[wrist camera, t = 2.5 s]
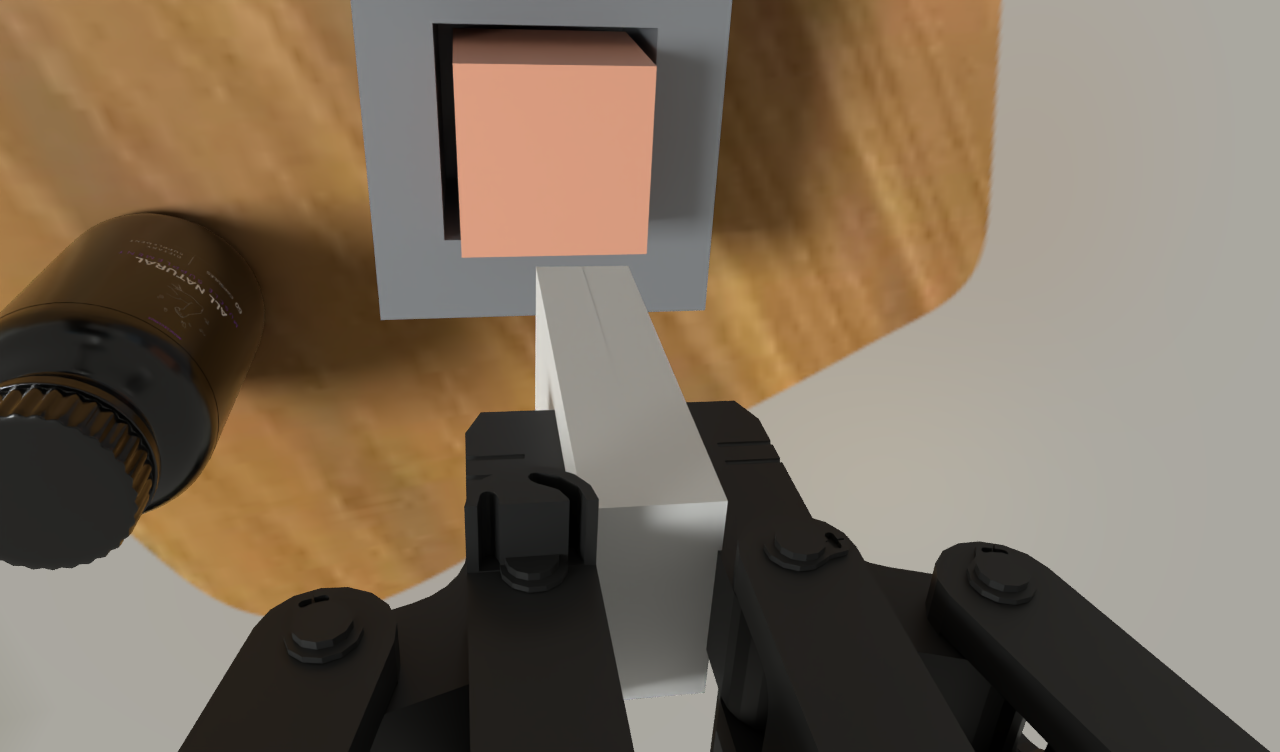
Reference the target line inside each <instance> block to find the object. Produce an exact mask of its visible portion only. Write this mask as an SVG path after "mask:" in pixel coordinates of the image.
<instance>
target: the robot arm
mask: <svg viewBox="0 0 1280 752" xmlns="http://www.w3.org/2000/svg"><path fill="white" fill-rule="evenodd" d="M465 440H466V503H465V506H464V511H465V537H466V561H465V564H464V566H463V567H462V569H461V571H460V573H459V574H458V576H457V577H456V578H455V579H453V580H452V581H451V582H450V583H449V585H448V586H446V587H445V588H443V589H441V590H440V591H438V592H437V593H435V594H434V595H432V596H430V597H427V598H425V599H422V600H420V601H417V602H415V603H412V604H409V605H406V606H402V607H399V608H396V609H393V610H391V608H390V606H389V605H388V604H387V603H386V602H384V601H383V600H381V599H380V598H378V597H377V596H375V595H374V594H373V593H370V592H366V591H362V590H358V589H353V588H349V587H341V588H320V589H317V590H313V591H310V592H306V593H303V594H299V595H296V596H293V597H291V598H290V599H288V600H286V601H284V602H283V603H281V604H279V605H278V606H276V607H274V608H272V609H271V610H270V611H269V612H268V613H267V614H266V615H265V616H264V617H263V618H262V619H261V620H260V621H259V623H258V624H257V625H256V626H255V627H254V628H253V630H252V632H251V633H250V635H249V636H248V638H247V640H246V641H245V643H244V645H243V646H242V648H241V649H240V651H239V653H238V654H237V656H236V658H235V659H234V661H233V662H232V664H231V666H230V667H229V669H228V671H227V672H226V674H225V676H224V677H223V679H222V681H221V682H220V684H219V685H218V687H217V689H216V690H215V692H214V694H213V695H212V697H211V699H210V700H209V702H208V703H207V705H206V707H205V708H204V710H203V712H202V713H201V715H200V717H199V718H198V720H197V721H196V723H195V725H194V726H193V728H192V730H191V731H190V733H189V735H188V736H187V738H186V739H185V741H184V743H183V744H182V746H181V748H180V749H179V751H178V752H634V748H633V743H632V738H631V733H630V729H629V724H628V719H627V714H626V709H625V704H624V700H630V699H641V698H651V697H662V696H674V695H684V694H694V693H695V694H696V693H704V692H705V686H706V677H707V669H708V661H709V660H710V663H711V667H712V669H713V673H714V676H715V679H716V682H717V685H718V696H717V703H716V711H715V719H714V727H713V734H712V742H711V749H710V752H1270V751H1269V750H1267V749H1266V748H1265V747H1264V746H1263V745H1261V744H1260V743H1259V742H1258V741H1256V740H1255V739H1254V738H1253V737H1252V736H1250V735H1249V734H1248V733H1247V732H1246V731H1244V730H1243V729H1242V728H1241V727H1240V726H1238V725H1237V724H1236V723H1235V722H1234V721H1232V720H1231V719H1230V718H1229V717H1228V716H1226V715H1225V714H1224V713H1223V712H1221V711H1220V710H1219V709H1218V708H1217V707H1215V706H1214V705H1213V704H1212V703H1211V702H1209V701H1208V700H1207V699H1206V698H1205V697H1203V696H1202V695H1201V694H1200V693H1198V692H1197V691H1196V690H1195V689H1194V688H1192V687H1191V686H1190V685H1189V684H1188V683H1187V682H1185V681H1184V680H1183V679H1182V678H1181V677H1179V676H1178V675H1177V674H1176V673H1174V672H1173V671H1172V670H1171V669H1170V668H1168V667H1167V666H1166V665H1165V664H1164V663H1162V662H1161V661H1160V660H1159V659H1158V658H1156V657H1155V656H1154V655H1153V654H1152V653H1150V652H1149V651H1148V650H1147V649H1145V648H1144V647H1143V646H1142V645H1141V644H1139V643H1138V642H1137V641H1136V640H1135V639H1133V638H1132V637H1131V636H1130V635H1129V634H1127V633H1126V632H1125V631H1124V630H1123V629H1121V628H1120V627H1119V626H1118V625H1116V624H1115V623H1114V622H1113V621H1112V620H1110V619H1109V618H1108V617H1107V616H1106V615H1105V614H1103V613H1102V612H1101V611H1100V610H1098V609H1097V608H1096V607H1095V606H1094V605H1092V604H1091V603H1090V602H1089V601H1087V600H1086V599H1085V598H1084V597H1083V596H1081V595H1080V594H1079V593H1078V592H1077V591H1076V590H1074V589H1073V588H1072V587H1071V586H1069V585H1068V584H1067V583H1066V582H1065V581H1063V580H1062V579H1061V578H1060V577H1059V576H1057V575H1056V574H1055V573H1054V572H1053V571H1051V570H1050V569H1049V568H1048V567H1046V566H1045V565H1043V564H1042V563H1040V562H1039V561H1037V560H1035V559H1034V558H1032V557H1031V556H1029V555H1028V554H1025V553H1023V552H1020V551H1017V550H1015V549H1012V548H1009V547H1007V546H1004V545H999V544H992V543H985V542H969V543H959V544H956V545H954V546H952V547H950V548H948V549H946V550H944V551H942V553H941V555H940V557H939V558H938V560H937V561H936V563H935V567H934V571H933V574H929V573H923V572H917V571H910V570H904V569H897V568H891V567H886V566H881V565H877V564H872V563H869V562H866V561H864V559H863V558H862V556H861V554H860V552H859V550H858V549H857V548H856V546H855V545H854V544H853V543H852V541H851V540H850V539H849V538H848V537H847V536H846V535H845V534H844V533H843V532H841V531H840V530H838V529H836V528H835V527H833V526H831V525H829V524H828V523H826V522H823V521H820V520H816V519H813V518H812V516H811V515H810V513H809V511H808V509H807V507H806V505H805V504H804V502H803V500H802V498H801V496H800V494H799V492H798V491H797V489H796V488H795V485H794V483H793V482H792V480H791V478H790V476H789V474H788V472H787V470H786V468H785V467H784V465H783V463H782V462H781V463H780V457H779V456H778V454H777V452H776V450H775V448H774V446H773V445H771V444H770V439H769V437H768V435H767V434H766V432H765V430H764V428H763V426H762V424H761V422H760V421H759V419H758V418H757V417H755V416H754V415H753V414H751V413H750V412H749V411H747V410H746V409H745V408H743V407H742V406H741V405H739V404H738V403H737V402H735V401H713V402H686V401H685V399H684V397H683V394H682V392H681V390H680V387H679V385H678V382H677V380H676V378H675V375H674V373H673V371H672V368H671V366H670V364H669V361H668V359H667V357H666V354H665V352H664V349H663V347H662V345H661V342H660V340H659V338H658V335H657V333H656V331H655V328H654V326H653V324H652V321H651V319H650V316H649V314H648V312H647V309H646V307H645V305H644V302H643V300H642V298H641V295H640V293H639V291H638V288H637V286H636V283H635V281H634V279H633V276H632V274H631V272H630V269H629V267H628V266H563V267H536V366H535V411H509V412H481V413H480V414H479V416H478V417H477V418H476V420H475V421H474V422H473V424H472V425H471V426H470V428H469V429H468V430H467V432H466V433H465ZM1026 721H1027V722H1028V723H1029V724H1030V725H1031V726H1032V727H1033V728H1034V729H1035V730H1036V731H1037V732H1038V733H1039V734H1040V735H1041V736H1042V737H1043V738H1044V739H1045V741H1046V742H1047V743H1048V745H1047V747H1046V749H1045V750H1042V749H1039V748H1038V747H1037V746H1035V745H1034V744H1033V743H1031V742H1030V741H1029V740H1028V739H1027V738H1026V737H1025V736H1024V734H1022V731H1023V728H1024V725H1025V722H1026Z"/></svg>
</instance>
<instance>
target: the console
mask: <svg viewBox="0 0 1280 752" xmlns="http://www.w3.org/2000/svg"><path fill="white" fill-rule="evenodd" d="M351 9H352V20H353V30H354V41H355V51H356V62H357V73H358V83H359V94H360V104H361V115H362V126H363V136H364V147H365V157H366V168H367V179H368V189H369V200H370V210H371V221H372V232H373V242H374V253H375V263H376V274H377V284H378V295H379V306H380V316H381V320H396V319H429V318H462V317H495V316H528V315H536V267H563V266H628V267H629V269H630V272H631V274H632V276H633V279H634V281H635V283H636V286H637V288H638V291H639V293H640V295H641V298H642V300H643V302H644V305H645V307H646V309H647V312H660V311H693V310H705V303H706V292H707V281H708V269H709V258H710V247H711V235H712V224H713V213H714V201H715V190H716V179H717V167H718V156H719V145H720V133H721V122H722V111H723V99H724V88H725V77H726V66H727V54H728V43H729V32H730V20H731V9H732V0H351ZM453 28H476V29H524V30H572V31H621V32H626V33H627V34H628V35H629V36H630V37H631V38H632V39H633V40H634V42H635V43H636V44H637V45H638V46H639V47H640V48H641V49H642V50H643V52H644V53H645V54H646V55H647V56H648V57H649V58H650V59H651V61H652V62H653V63H654V64H655V65H656V66H657V71H656V90H655V108H654V127H653V146H652V164H651V183H650V201H649V220H648V238H647V254H622V255H572V256H521V257H471V258H462V252H461V231H460V210H459V188H458V167H457V146H456V124H455V103H454V82H453Z"/></svg>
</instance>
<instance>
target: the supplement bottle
mask: <svg viewBox="0 0 1280 752" xmlns="http://www.w3.org/2000/svg"><path fill="white" fill-rule="evenodd" d="M264 320H265V308H264V301H263V297H262V293H261V289H260V287H259V284H258V281H257V279H256V277H255V275H254V273H253V272H252V270H251V269H250V267H249V265H248V264H247V263H246V261H245V260H244V259H243V257H242V256H241V255H240V254H239V253H238V252H237V251H236V250H235V249H234V248H233V247H232V246H231V245H230V244H229V243H227V242H226V241H225V240H223V239H222V238H221V237H219V236H218V235H216V234H215V233H213V232H212V231H210V230H208V229H206V228H204V227H202V226H200V225H198V224H196V223H193V222H191V221H188V220H185V219H182V218H178V217H174V216H169V215H163V214H152V213H140V214H130V215H124V216H119V217H115V218H112V219H109V220H106V221H104V222H101V223H99V224H97V225H96V226H94V227H92V228H90V229H89V230H87V231H86V232H85V233H83V234H82V235H80V236H79V237H78V238H77V239H76V240H75V241H74V242H73V243H71V244H70V245H69V246H68V247H67V248H66V249H65V250H64V251H63V252H62V253H61V254H60V255H59V256H58V257H56V258H55V259H54V260H53V261H52V262H51V263H50V264H49V265H48V266H47V267H46V268H45V269H44V270H43V271H42V272H41V273H40V274H39V275H38V276H37V277H36V278H35V279H34V280H33V281H32V282H31V283H30V284H29V285H28V286H27V287H26V288H25V289H24V290H23V291H22V292H21V293H20V294H19V295H18V296H17V297H16V298H15V299H13V300H12V301H11V302H10V303H9V304H8V305H7V306H6V307H5V308H4V309H3V310H2V311H1V312H0V560H3V561H5V562H7V563H9V564H11V565H13V566H25V567H28V568H31V569H40V568H46V569H51V570H55V569H58V568H61V567H63V568H73V567H76V566H77V565H79V564H89V563H91V562H92V561H94V560H95V559H96V558H102V557H106V556H107V554H108V553H109V552H110V551H111V550H113V549H116V548H118V547H119V546H120V545H121V544H122V542H123V540H124V539H125V538H127V537H128V536H129V535H130V534H131V533H132V531H133V529H134V527H135V526H136V524H137V521H138V520H139V518H140V516H141V515H142V514H144V513H147V512H149V511H152V510H154V509H157V508H159V507H161V506H163V505H165V504H167V503H168V502H170V501H172V500H173V499H175V498H176V497H178V496H179V495H180V494H182V493H183V492H184V491H186V490H187V489H188V488H189V487H190V486H191V485H192V484H193V483H194V482H195V481H196V479H197V478H198V477H199V476H200V474H201V473H202V471H203V470H204V468H205V466H206V465H207V463H208V461H209V459H210V458H211V455H212V453H213V451H214V449H215V447H216V444H217V442H218V440H219V437H220V435H221V433H222V430H223V428H224V426H225V424H226V421H227V419H228V417H229V414H230V412H231V410H232V407H233V405H234V403H235V400H236V398H237V396H238V393H239V391H240V389H241V386H242V384H243V382H244V379H245V377H246V375H247V372H248V370H249V368H250V365H251V363H252V361H253V358H254V356H255V353H256V350H257V348H258V345H259V343H260V340H261V337H262V333H263V328H264Z"/></svg>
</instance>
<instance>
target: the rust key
mask: <svg viewBox="0 0 1280 752" xmlns="http://www.w3.org/2000/svg"><path fill="white" fill-rule="evenodd" d="M656 71H657V66H656V65H655V64H654V63H653V62H652V61H651V59H650V58H649V57H648V56H647V55H646V54H645V53H644V52H643V50H642V49H641V48H640V47H639V46H638V45H637V44H636V43H635V42H634V40H633V39H632V38H631V37H630V36H629V35H628V34H627V33H626V32H621V31H572V30H524V29H476V28H453V82H454V103H455V124H456V146H457V167H458V188H459V210H460V231H461V252H462V258H471V257H521V256H572V255H622V254H647V238H648V220H649V201H650V183H651V164H652V146H653V127H654V108H655V90H656Z"/></svg>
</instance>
